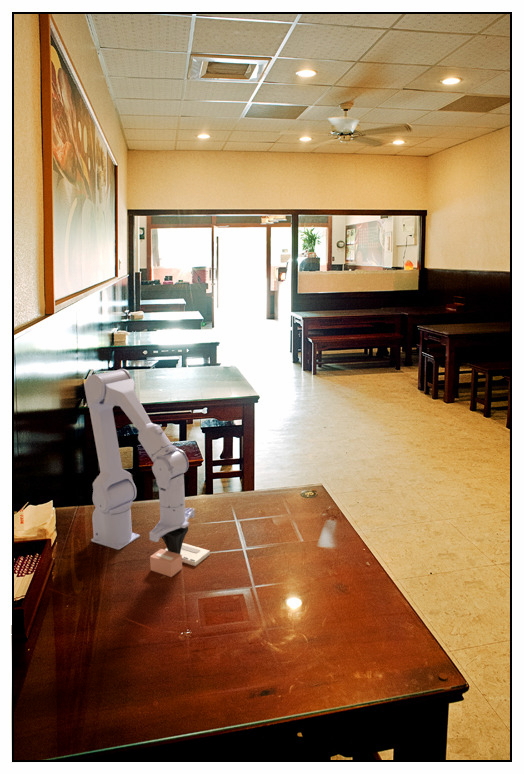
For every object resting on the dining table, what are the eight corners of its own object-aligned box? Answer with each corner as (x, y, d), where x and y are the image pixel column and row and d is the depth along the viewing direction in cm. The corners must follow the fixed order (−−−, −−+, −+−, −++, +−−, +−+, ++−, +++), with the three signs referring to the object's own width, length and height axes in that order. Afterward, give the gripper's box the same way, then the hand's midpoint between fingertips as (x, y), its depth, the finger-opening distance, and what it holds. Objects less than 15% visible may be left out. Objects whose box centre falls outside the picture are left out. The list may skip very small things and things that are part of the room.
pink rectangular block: (150, 570, 129) (150, 556, 128) (161, 562, 132) (161, 548, 131) (171, 577, 126) (170, 562, 125) (182, 568, 129) (181, 554, 129)
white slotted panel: (161, 555, 135) (161, 551, 135) (176, 544, 140) (176, 540, 140) (195, 566, 130) (195, 561, 130) (209, 554, 136) (209, 550, 135)
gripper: (166, 518, 120) (168, 575, 123) (204, 494, 133) (206, 546, 136) (140, 512, 124) (144, 567, 127) (180, 488, 136) (182, 539, 139)
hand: (174, 556), depth 131 cm, fingers closed
